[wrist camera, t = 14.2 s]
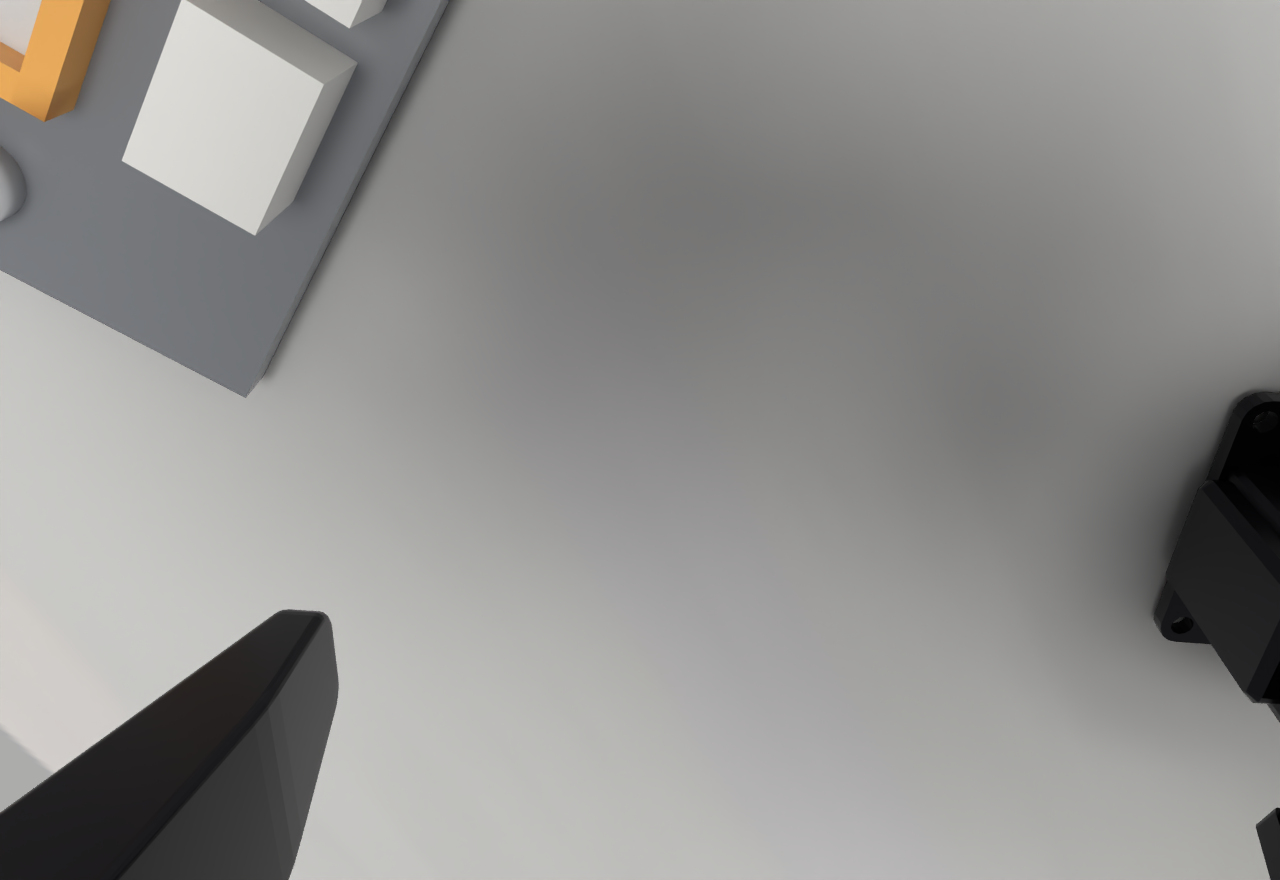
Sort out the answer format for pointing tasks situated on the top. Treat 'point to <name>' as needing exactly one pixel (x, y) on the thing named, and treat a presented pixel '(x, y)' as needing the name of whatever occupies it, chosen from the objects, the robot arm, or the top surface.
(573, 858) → the top surface
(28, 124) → the panel
